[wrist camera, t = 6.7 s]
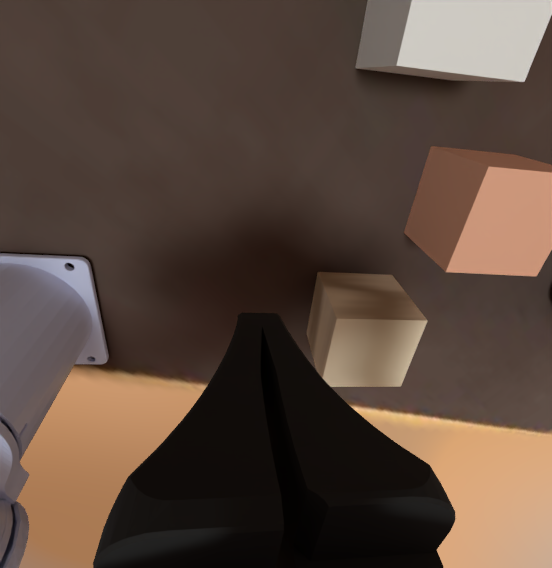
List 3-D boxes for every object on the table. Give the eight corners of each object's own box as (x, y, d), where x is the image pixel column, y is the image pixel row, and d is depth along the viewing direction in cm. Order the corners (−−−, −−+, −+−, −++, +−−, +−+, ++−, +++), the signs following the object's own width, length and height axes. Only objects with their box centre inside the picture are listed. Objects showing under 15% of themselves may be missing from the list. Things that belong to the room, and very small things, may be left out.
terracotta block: (403, 232, 21) (445, 271, 17) (430, 145, 18) (488, 166, 14) (477, 237, 22) (536, 276, 17) (513, 154, 19) (592, 176, 15)
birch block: (306, 332, 24) (320, 386, 20) (317, 271, 22) (336, 318, 18) (373, 333, 25) (400, 386, 21) (391, 274, 22) (427, 320, 18)
